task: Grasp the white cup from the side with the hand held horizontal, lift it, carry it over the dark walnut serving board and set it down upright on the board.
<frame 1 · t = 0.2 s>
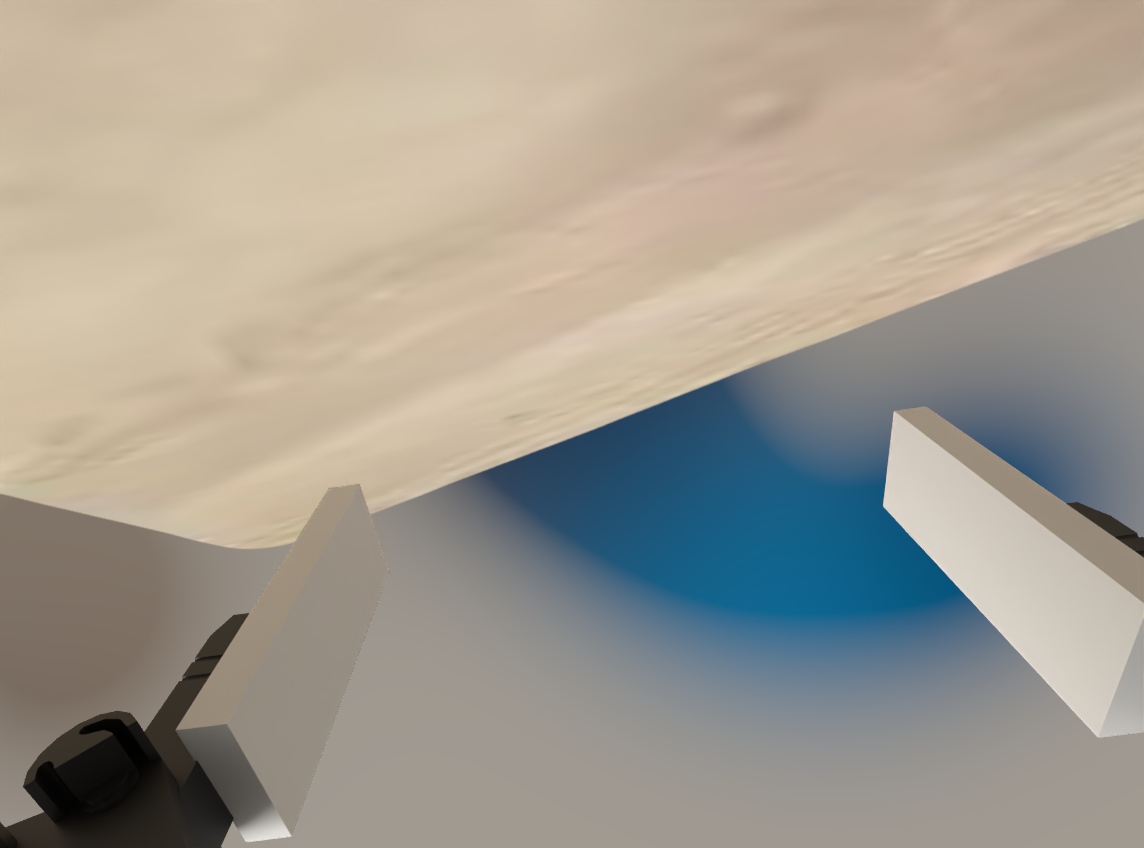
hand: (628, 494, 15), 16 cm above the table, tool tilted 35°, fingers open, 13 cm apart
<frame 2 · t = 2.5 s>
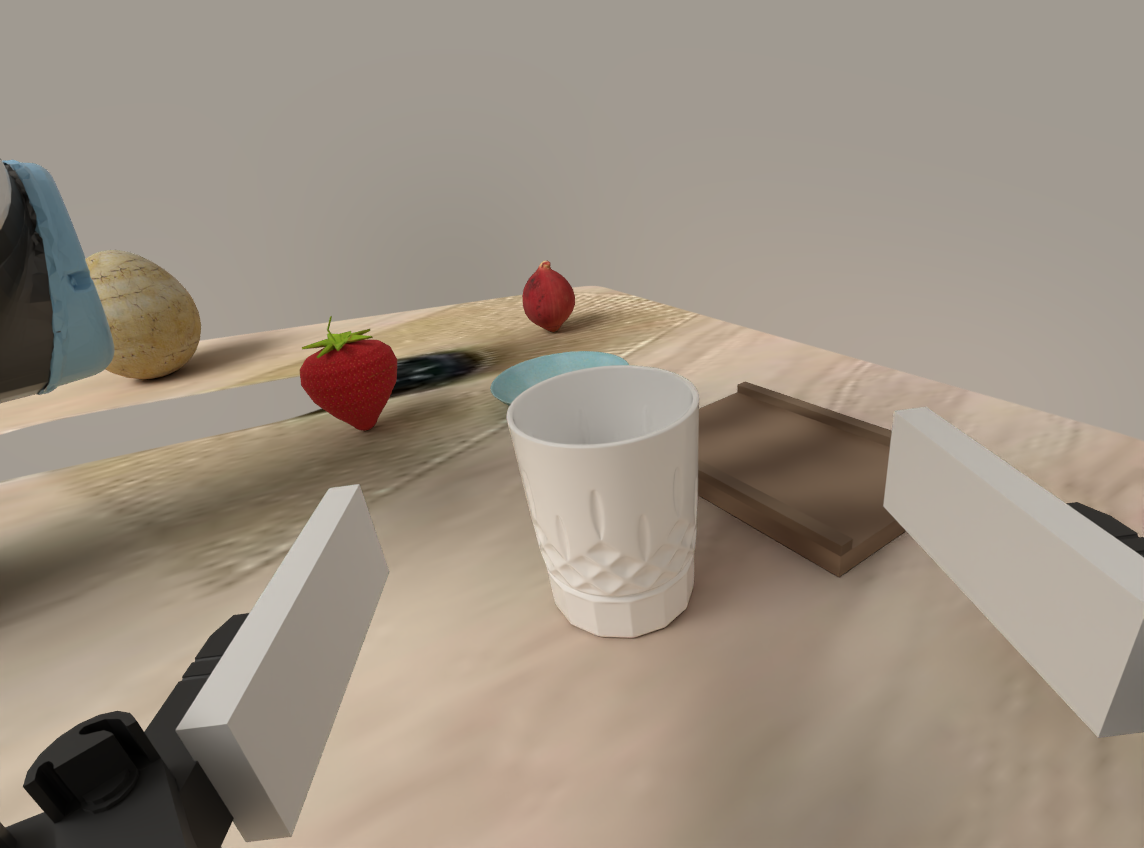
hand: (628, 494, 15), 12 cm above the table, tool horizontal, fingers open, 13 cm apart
fossilized egg: (162, 376, 72), on the table
white cup: (623, 590, 29), on the table
walnut board: (780, 469, 36), on the table
strawberry: (369, 431, 49), on the table
saucer: (563, 401, 50), on the table
red rounded fruit: (553, 333, 68), on the table
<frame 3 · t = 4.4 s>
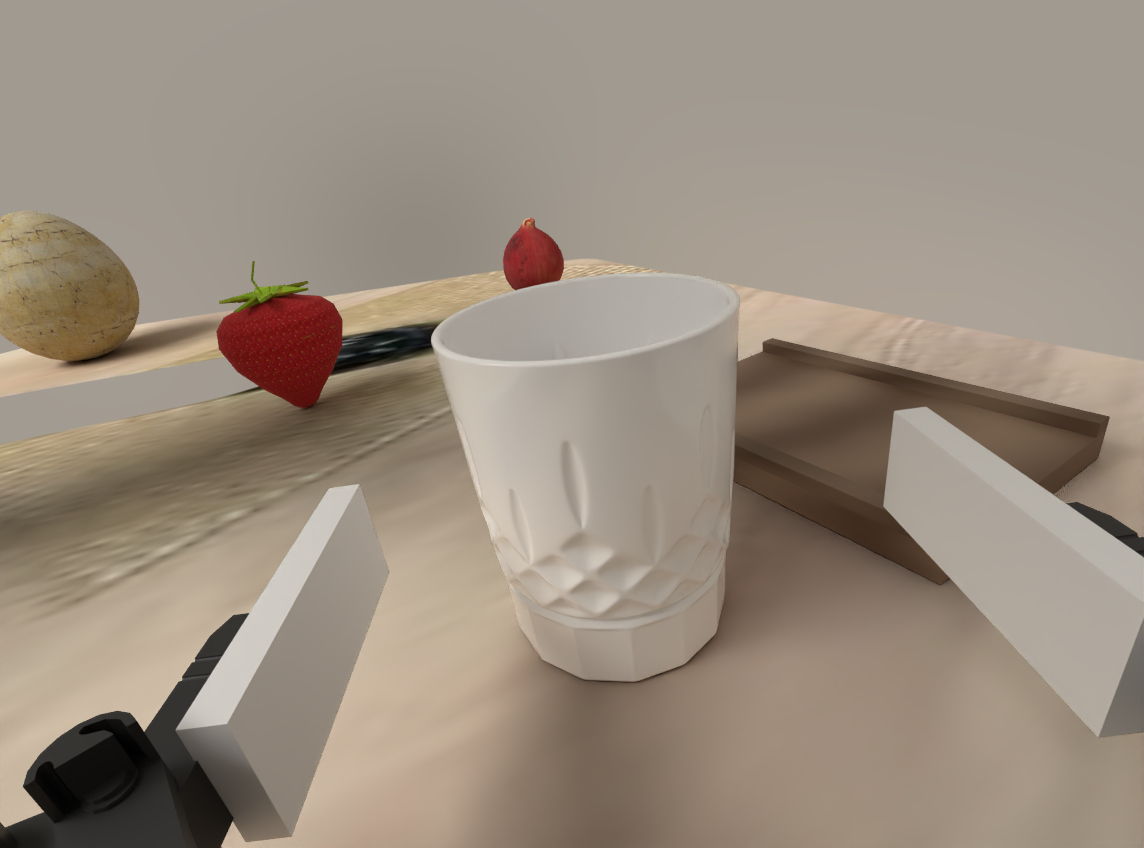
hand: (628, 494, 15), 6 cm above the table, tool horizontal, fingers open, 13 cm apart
fossilized egg: (94, 358, 64), on the table
white cup: (620, 606, 20), on the table
walnut board: (828, 440, 27), on the table
strawberry: (310, 409, 40), on the table
red rounded fruit: (539, 303, 59), on the table
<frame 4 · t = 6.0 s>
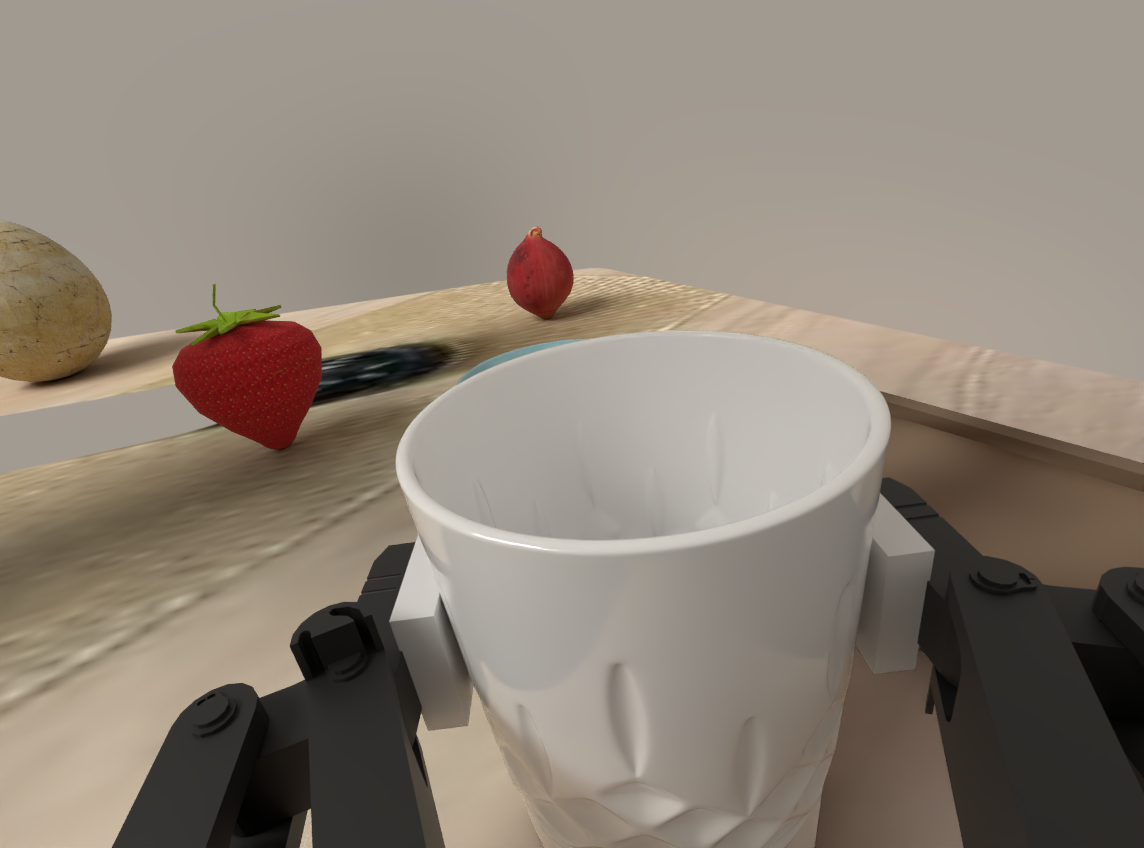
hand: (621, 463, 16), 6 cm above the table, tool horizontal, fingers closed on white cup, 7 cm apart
fossilized egg: (62, 378, 58), on the table
white cup: (668, 781, 14), on the table, touching gripper
walnut board: (913, 517, 22), on the table
strawberry: (285, 451, 35), on the table
saucer: (558, 407, 36), on the table
red rounded fruit: (546, 320, 53), on the table
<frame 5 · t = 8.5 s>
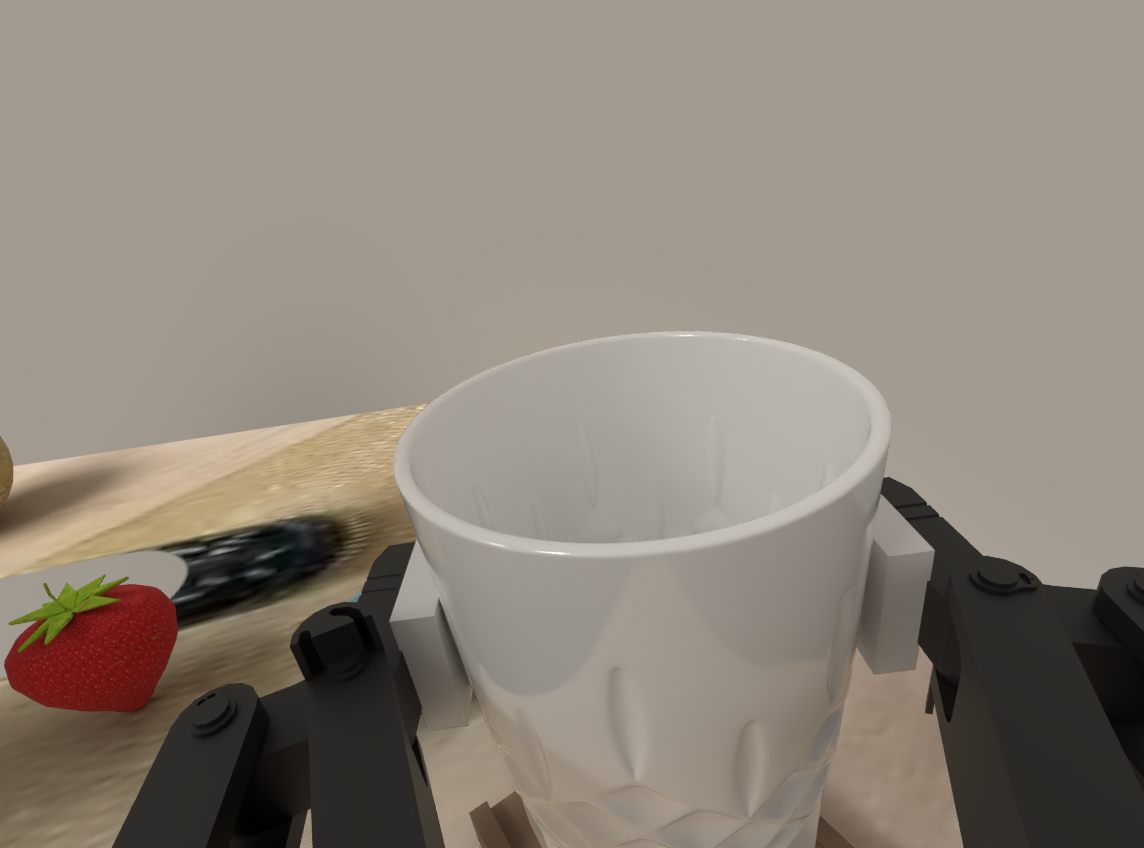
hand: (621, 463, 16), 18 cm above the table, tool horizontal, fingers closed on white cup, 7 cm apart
white cup: (668, 783, 14), point 12 cm above the table, touching gripper
strawberry: (142, 709, 34), on the table
when the fingers open (9 cm above the table, at t = 10.8 s): white cup drops 1 cm, resting on walnut board.
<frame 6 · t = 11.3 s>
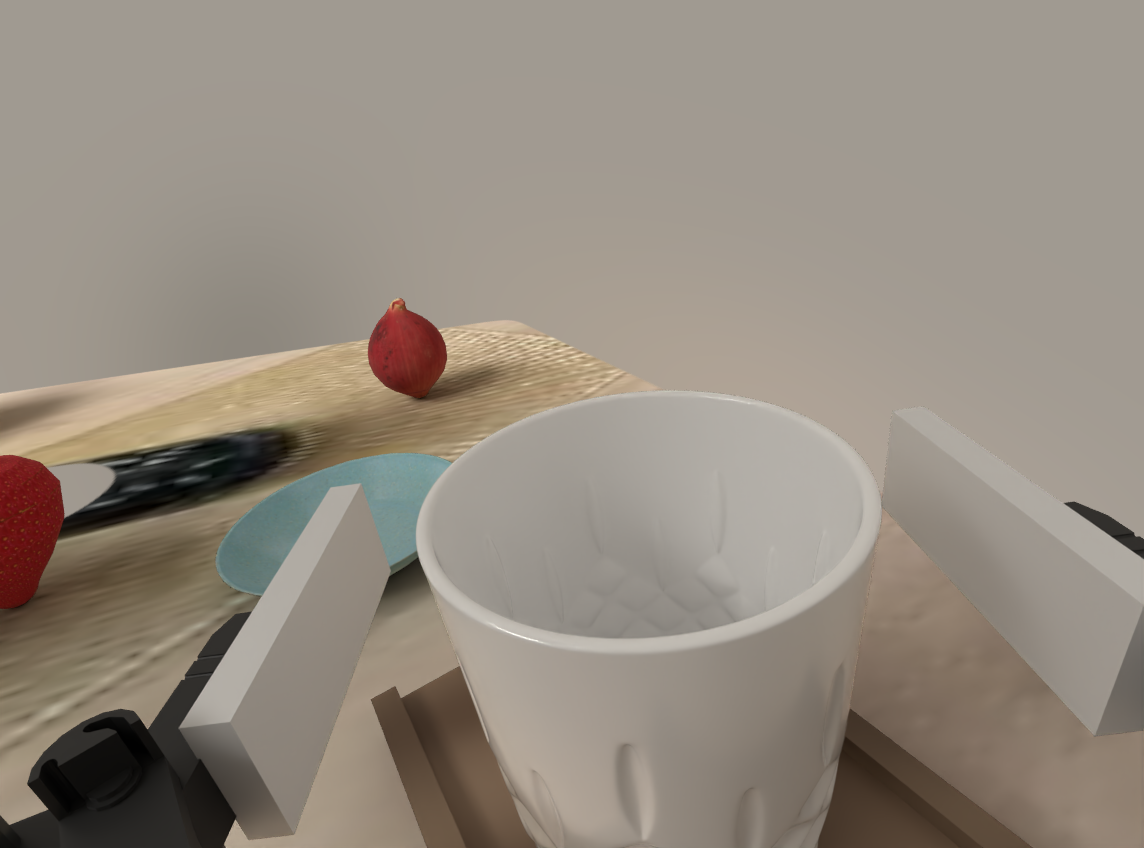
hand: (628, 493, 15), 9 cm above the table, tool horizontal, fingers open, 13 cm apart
white cup: (672, 818, 15), point 1 cm above the table, touching walnut board
walnut board: (674, 840, 15), on the table
strawberry: (23, 608, 29), on the table
saucer: (361, 550, 30), on the table
red rounded fruit: (420, 399, 47), on the table
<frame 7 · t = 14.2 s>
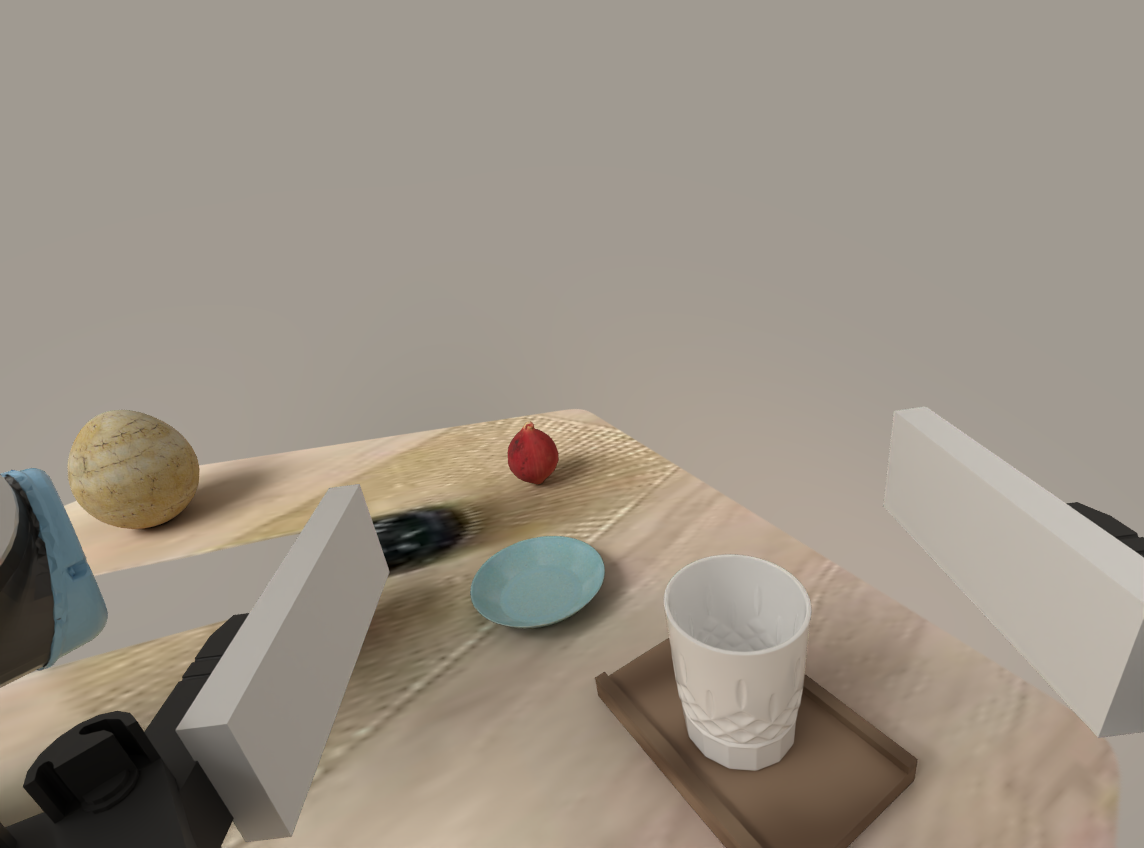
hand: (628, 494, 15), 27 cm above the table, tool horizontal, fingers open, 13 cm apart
fossilized egg: (162, 520, 75), on the table
white cup: (738, 723, 37), point 1 cm above the table, touching walnut board
walnut board: (739, 733, 37), on the table
saucer: (541, 597, 52), on the table
red rounded fruit: (538, 485, 70), on the table
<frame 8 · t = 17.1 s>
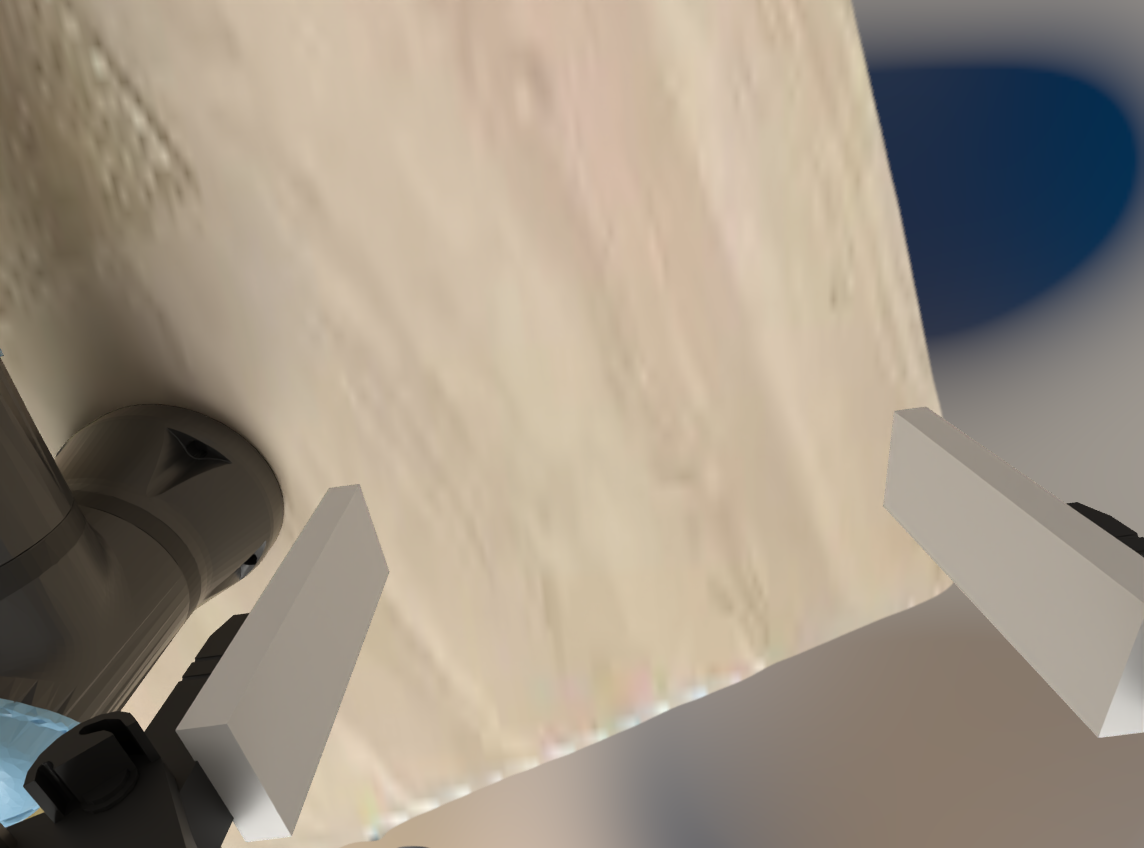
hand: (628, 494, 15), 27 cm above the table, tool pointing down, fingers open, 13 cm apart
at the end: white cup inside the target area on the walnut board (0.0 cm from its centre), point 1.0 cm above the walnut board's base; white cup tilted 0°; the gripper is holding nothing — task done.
